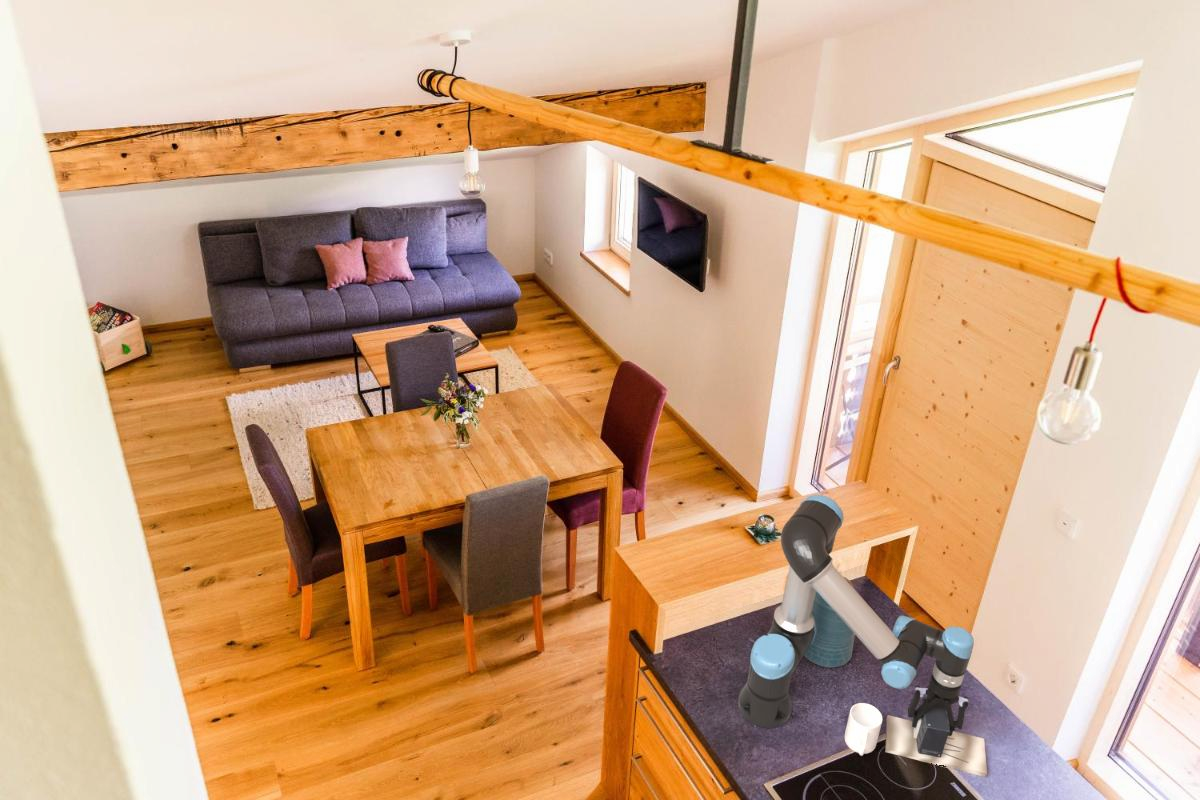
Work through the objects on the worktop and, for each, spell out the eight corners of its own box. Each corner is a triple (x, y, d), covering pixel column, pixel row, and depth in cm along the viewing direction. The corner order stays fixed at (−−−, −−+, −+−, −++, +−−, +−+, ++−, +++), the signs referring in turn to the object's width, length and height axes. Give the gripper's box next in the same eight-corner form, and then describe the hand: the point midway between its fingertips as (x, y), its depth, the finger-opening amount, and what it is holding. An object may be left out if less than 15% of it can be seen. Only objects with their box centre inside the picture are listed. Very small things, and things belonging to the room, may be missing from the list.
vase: (787, 648, 277) (798, 582, 264) (818, 624, 287) (831, 559, 274) (831, 678, 267) (845, 611, 253) (861, 652, 276) (877, 586, 263)
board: (885, 751, 244) (886, 748, 243) (886, 718, 254) (887, 714, 253) (985, 777, 237) (987, 773, 237) (982, 742, 247) (984, 738, 247)
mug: (843, 761, 241) (849, 733, 236) (844, 726, 251) (850, 699, 246) (875, 768, 239) (883, 741, 234) (875, 733, 249) (882, 706, 244)
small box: (942, 758, 240) (951, 731, 235) (917, 753, 241) (925, 727, 236) (938, 727, 249) (946, 701, 244) (914, 723, 250) (921, 697, 245)
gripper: (908, 679, 233) (891, 739, 244) (987, 698, 228) (966, 758, 239) (908, 659, 239) (892, 718, 250) (985, 676, 234) (965, 736, 245)
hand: (928, 737), depth 245 cm, fingers closed on small box, 7 cm apart
